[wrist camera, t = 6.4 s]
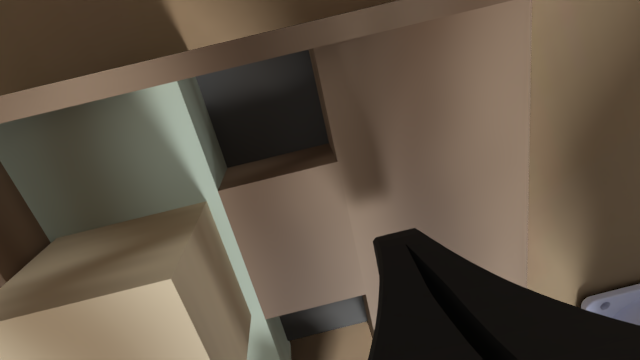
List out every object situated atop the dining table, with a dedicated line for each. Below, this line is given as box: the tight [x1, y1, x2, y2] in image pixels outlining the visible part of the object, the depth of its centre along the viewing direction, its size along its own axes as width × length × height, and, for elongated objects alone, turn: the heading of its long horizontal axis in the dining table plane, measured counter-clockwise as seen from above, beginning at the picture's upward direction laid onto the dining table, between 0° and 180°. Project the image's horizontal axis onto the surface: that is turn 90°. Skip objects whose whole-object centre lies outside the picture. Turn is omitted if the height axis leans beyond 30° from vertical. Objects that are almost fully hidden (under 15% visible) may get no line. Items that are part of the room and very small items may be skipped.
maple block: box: [0, 201, 251, 360], centre depth 10 cm, size 5×5×4 cm
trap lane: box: [0, 0, 532, 360], centre depth 13 cm, size 17×14×4 cm
